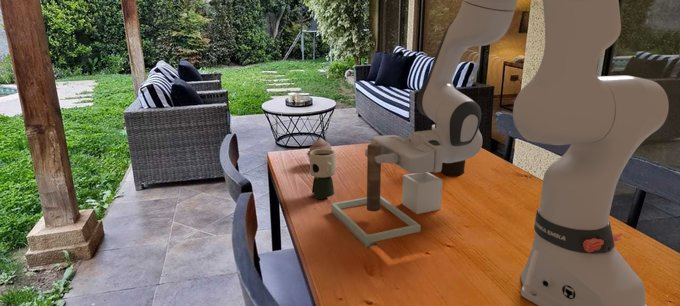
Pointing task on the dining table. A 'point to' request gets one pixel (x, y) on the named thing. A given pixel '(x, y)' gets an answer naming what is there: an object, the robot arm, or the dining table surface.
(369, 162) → the walnut pin
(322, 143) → the cupcake
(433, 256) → the dining table surface
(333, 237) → the dining table surface
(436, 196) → the white square sleeve
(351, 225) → the sage tray
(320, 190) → the character mug
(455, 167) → the olive oil
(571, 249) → the robot arm
